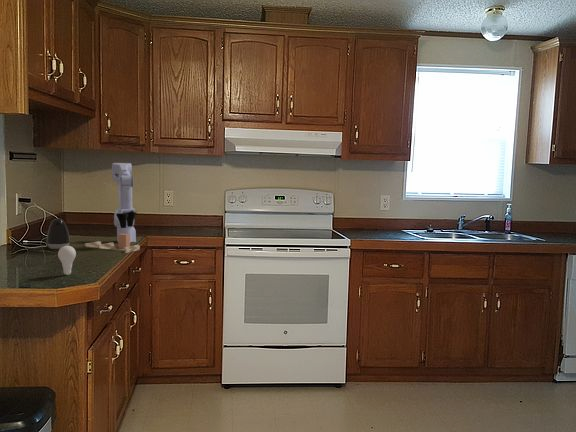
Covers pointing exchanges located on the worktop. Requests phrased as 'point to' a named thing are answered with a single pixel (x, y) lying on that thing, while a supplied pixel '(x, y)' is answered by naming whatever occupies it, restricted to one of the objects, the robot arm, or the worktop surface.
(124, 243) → the block
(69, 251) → the lightbulb
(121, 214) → the robot arm
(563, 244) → the worktop surface
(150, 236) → the worktop surface
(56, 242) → the dark grey dome
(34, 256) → the worktop surface
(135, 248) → the notched rack
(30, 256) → the worktop surface
